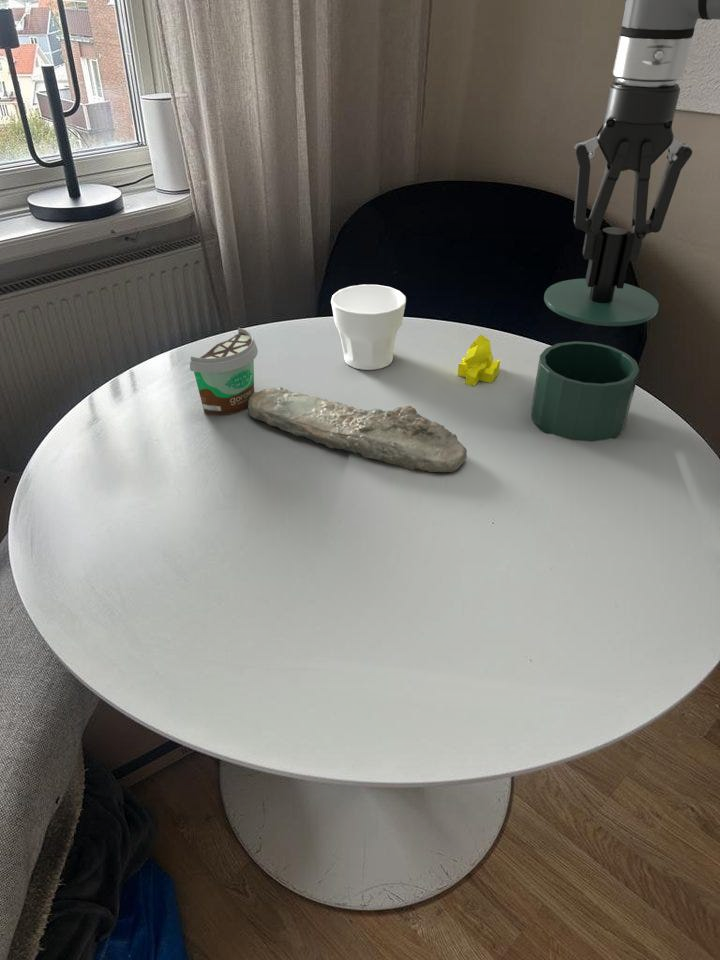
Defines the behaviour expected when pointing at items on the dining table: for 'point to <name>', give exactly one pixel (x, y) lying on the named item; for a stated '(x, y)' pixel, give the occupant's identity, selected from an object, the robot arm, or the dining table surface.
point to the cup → (368, 323)
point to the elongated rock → (362, 430)
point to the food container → (226, 374)
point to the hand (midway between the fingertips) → (603, 283)
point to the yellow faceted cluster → (479, 363)
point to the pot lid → (603, 291)
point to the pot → (583, 391)
